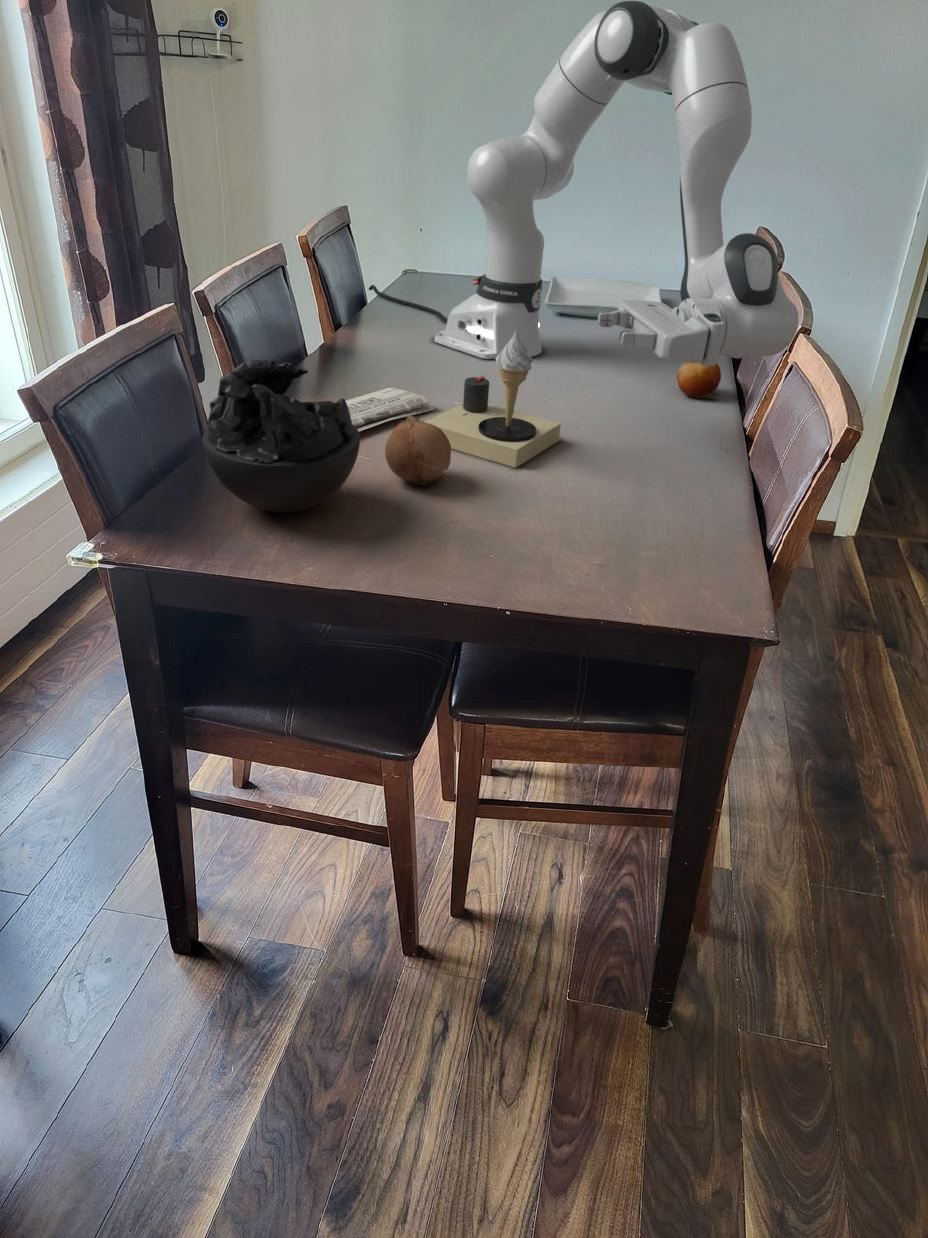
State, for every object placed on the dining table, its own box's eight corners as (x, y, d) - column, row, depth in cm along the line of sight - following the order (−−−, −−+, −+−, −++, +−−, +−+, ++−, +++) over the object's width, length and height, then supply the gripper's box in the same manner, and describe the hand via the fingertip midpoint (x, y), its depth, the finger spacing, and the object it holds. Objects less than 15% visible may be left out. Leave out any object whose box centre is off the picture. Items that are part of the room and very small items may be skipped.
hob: (417, 438, 148) (418, 419, 146) (466, 413, 158) (467, 395, 156) (515, 468, 140) (517, 448, 138) (560, 440, 150) (562, 421, 149)
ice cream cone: (488, 419, 146) (495, 323, 138) (523, 420, 147) (532, 324, 138) (492, 433, 141) (500, 334, 133) (528, 434, 142) (538, 335, 134)
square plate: (549, 289, 237) (551, 273, 235) (657, 299, 235) (660, 283, 233) (542, 316, 214) (544, 299, 212) (661, 327, 212) (664, 310, 210)
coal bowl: (284, 462, 137) (277, 334, 126) (390, 501, 128) (392, 366, 117) (177, 507, 122) (159, 367, 112) (288, 555, 113) (280, 407, 103)
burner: (467, 431, 143) (467, 427, 143) (497, 416, 149) (497, 412, 149) (517, 446, 139) (518, 442, 139) (546, 429, 146) (546, 425, 145)
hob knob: (479, 414, 149) (481, 384, 147) (458, 408, 151) (460, 379, 148) (491, 408, 152) (494, 378, 150) (471, 402, 154) (473, 373, 151)
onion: (399, 489, 138) (385, 422, 136) (460, 478, 137) (447, 409, 135) (386, 493, 129) (371, 421, 127) (452, 481, 127) (438, 407, 126)
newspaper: (339, 445, 143) (337, 429, 142) (289, 430, 151) (287, 415, 149) (440, 411, 158) (439, 396, 157) (390, 399, 165) (389, 384, 164)
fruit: (729, 397, 169) (714, 357, 166) (687, 414, 172) (671, 375, 169) (727, 383, 175) (713, 344, 172) (687, 400, 179) (672, 362, 175)
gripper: (671, 290, 149) (590, 289, 146) (728, 326, 132) (637, 326, 129) (664, 329, 152) (585, 329, 149) (719, 370, 135) (630, 371, 133)
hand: (609, 328), depth 139 cm, fingers open, 8 cm apart
